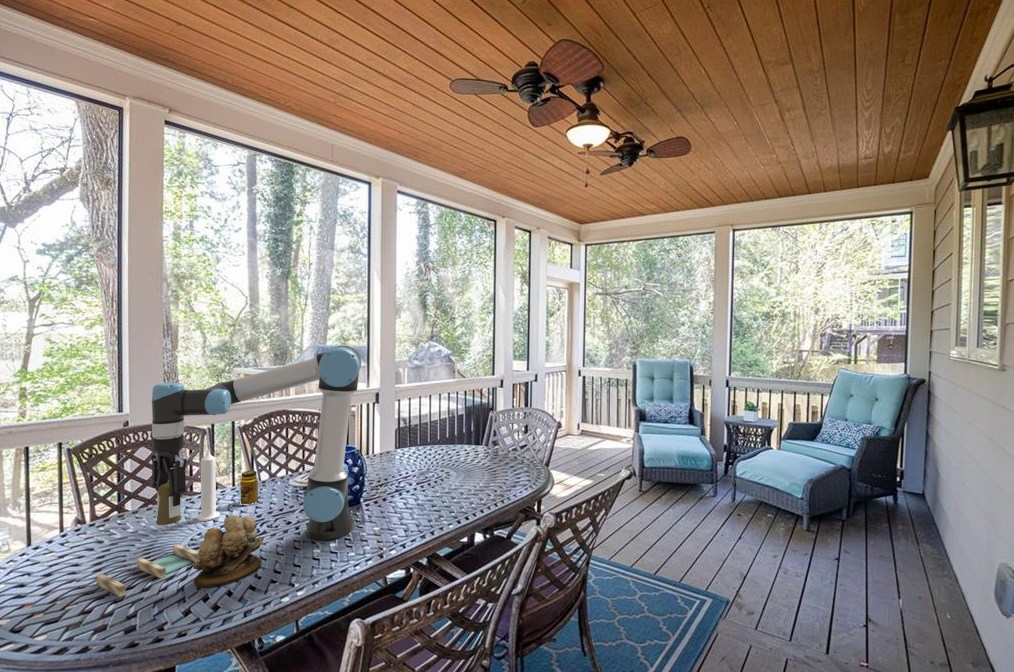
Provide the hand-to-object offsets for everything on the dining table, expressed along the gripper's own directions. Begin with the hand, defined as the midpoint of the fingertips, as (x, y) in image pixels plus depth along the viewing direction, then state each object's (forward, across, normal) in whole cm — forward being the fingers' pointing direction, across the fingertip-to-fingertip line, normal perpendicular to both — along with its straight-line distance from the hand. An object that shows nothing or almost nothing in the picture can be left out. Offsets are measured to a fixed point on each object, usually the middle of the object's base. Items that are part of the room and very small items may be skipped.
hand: (168, 514), depth 139 cm
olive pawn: (+2, 0, 0) cm, 2 cm away
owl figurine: (+15, -20, -6) cm, 26 cm away
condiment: (+15, +24, -43) cm, 51 cm away
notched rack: (+15, 0, 0) cm, 15 cm away
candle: (+15, +23, -26) cm, 38 cm away
